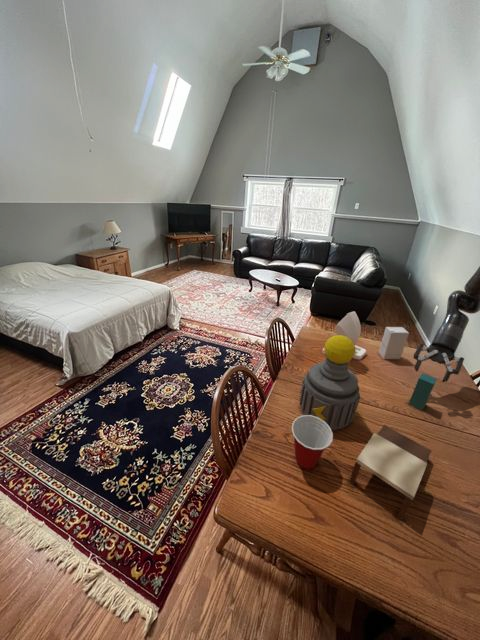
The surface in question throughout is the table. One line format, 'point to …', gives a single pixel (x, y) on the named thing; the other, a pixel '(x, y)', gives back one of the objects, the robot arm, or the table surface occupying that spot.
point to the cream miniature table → (394, 463)
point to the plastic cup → (310, 439)
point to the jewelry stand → (351, 332)
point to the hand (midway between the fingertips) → (429, 375)
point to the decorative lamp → (332, 385)
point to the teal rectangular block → (422, 391)
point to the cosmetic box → (393, 342)
